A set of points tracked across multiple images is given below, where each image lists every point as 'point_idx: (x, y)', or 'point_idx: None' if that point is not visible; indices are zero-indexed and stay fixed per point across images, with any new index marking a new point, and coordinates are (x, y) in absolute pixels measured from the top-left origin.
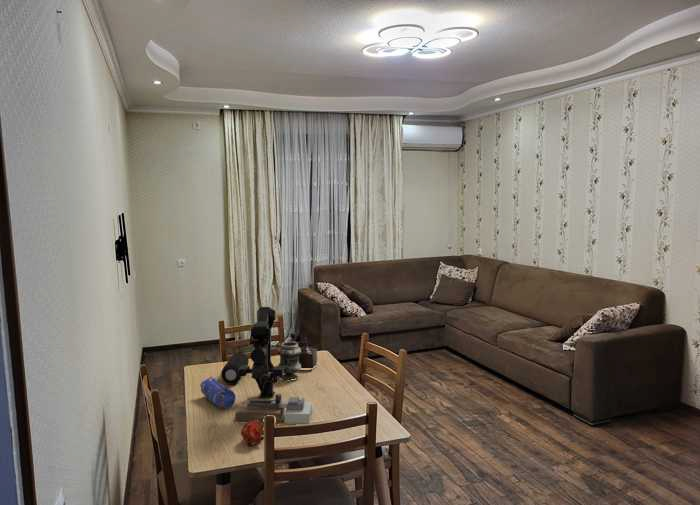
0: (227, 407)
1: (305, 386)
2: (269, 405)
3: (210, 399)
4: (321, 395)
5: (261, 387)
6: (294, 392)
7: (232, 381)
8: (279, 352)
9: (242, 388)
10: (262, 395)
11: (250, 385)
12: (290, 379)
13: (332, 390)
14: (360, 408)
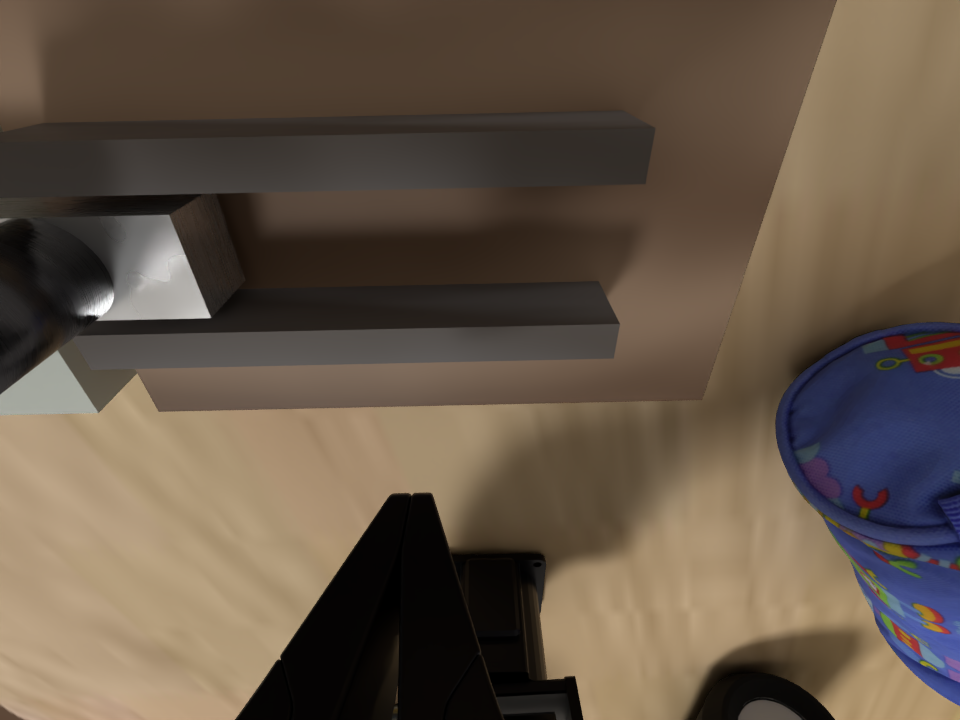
0: (839, 358)
1: None
2: (159, 133)
3: None
4: (89, 594)
5: (380, 563)
6: None
7: (748, 690)
8: None
9: (674, 639)
10: (513, 567)
11: (624, 664)
12: (396, 715)
13: (69, 644)
14: None
